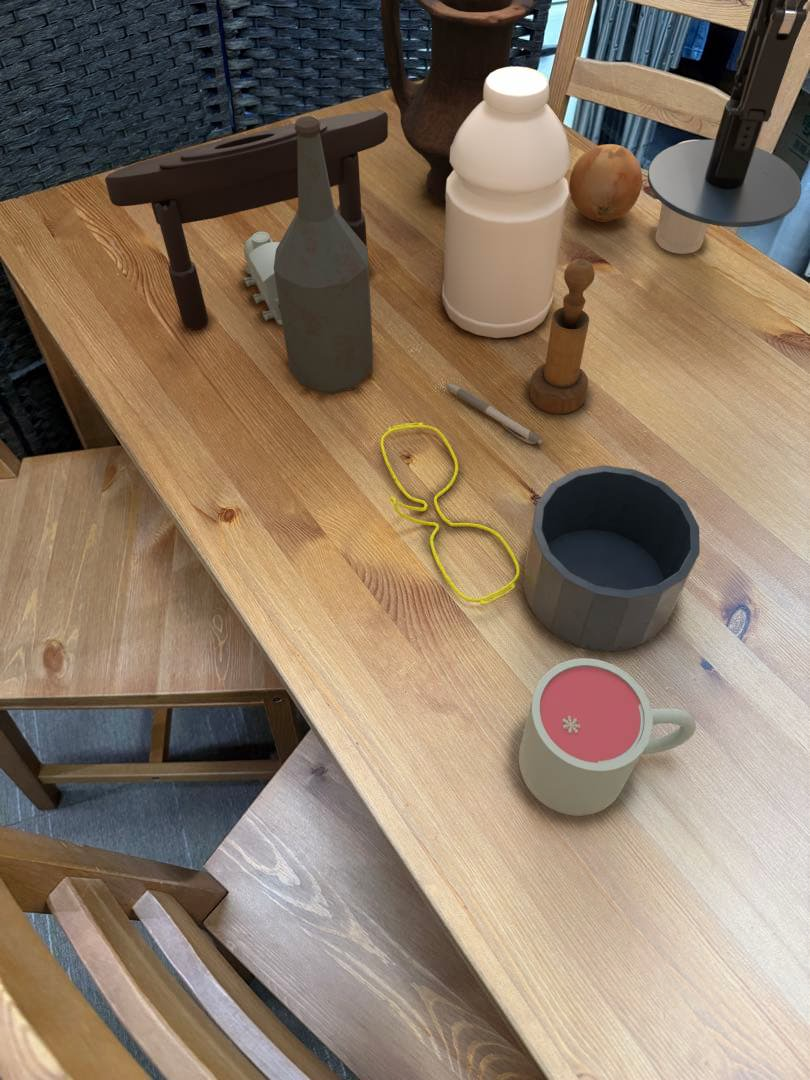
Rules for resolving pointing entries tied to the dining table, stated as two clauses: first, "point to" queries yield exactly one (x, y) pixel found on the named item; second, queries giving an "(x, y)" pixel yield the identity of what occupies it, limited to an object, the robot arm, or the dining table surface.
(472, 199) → the bottle
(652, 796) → the dining table surface
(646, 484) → the pot
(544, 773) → the mug
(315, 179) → the bottle
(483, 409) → the pen
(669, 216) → the cup
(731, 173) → the robot arm
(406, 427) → the glasses
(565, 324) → the mortar and pestle
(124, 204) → the stool
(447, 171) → the jug
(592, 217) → the onion
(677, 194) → the lid
